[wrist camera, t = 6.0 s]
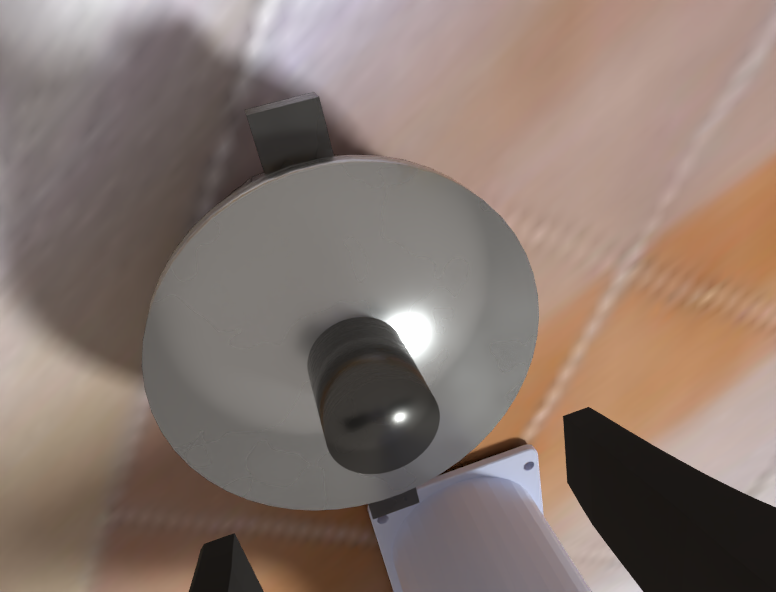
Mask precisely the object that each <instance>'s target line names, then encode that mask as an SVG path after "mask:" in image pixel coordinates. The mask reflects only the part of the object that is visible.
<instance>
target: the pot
mask: <svg viewBox="0 0 776 592" xmlns="http://www.w3.org/2000/svg"><path fill="white" fill-rule="evenodd" d="M245 112H246V116H247V119H248V122H249V125H250V129H251V132H252V135H253V138H254V141H255V145H256V148H257V151H258V154H259V157H260V160H261V164H262V167H263V170H264V173H262V174H260V175H257V176H254V177H252V179H249V180H248V181H247V182H246V183H245V184H243V185H242V186H240V187H239V188H237V189H236V190H234V191H233V192H232V193H234V192H235V191H237V190H238V189H240V188H242V187H244V186H246V185H247V184H249V183H251V182H253V181H255V180H256V179H258V178H260V177H262V176H264V175H267V174H269V173H272V172H274V171H277V170H280V169H282V168H285V167H287V166H290V165H294V164H297V163H301V162H305V161H309V160H313V159H317V158H324V157H333V156H335V155H333V151H332V147H331V143H330V139H329V135H328V131H327V127H326V123H325V119H324V115H323V111H322V107H321V103H320V99H319V96H318V95H317V94H316V93H315V92H312V93H308V94H304V95H300V96H297V97H293V98H289V99H285V100H281V101H277V102H273V103H269V104H265V105H262V106H258V107H254V108H250V109H246V110H245ZM337 156H341V155H337ZM232 193H231V194H232ZM231 194H230V195H231ZM230 195H229V196H230ZM417 503H420V502H419V498H418V494H417V489H416V487H415V488H413V489H411V490H408V491H406V492H404V493H402V494H399V495H396V496H393V497H390V498H387V499H384V500H381V501H378V502H374V503H370V504H368V505H369V508H370V512H371V515H372V518H373V519H376V518H379V517H381V516H384V515H387V514H390V513H392V512H395V511H398V510H401V509H403V508H406V507H409V506H412V505H414V504H417Z"/></svg>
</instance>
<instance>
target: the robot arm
mask: <svg viewBox="0 0 776 592" xmlns="http://www.w3.org/2000/svg"><path fill="white" fill-rule="evenodd" d="M563 421H564V437H565V453H566V469H567V483H568V484H569V486H570V488H571V489H572V491H573V493H574V495H575V496H576V498H577V500H578V502H579V503H580V505H581V507H582V508H583V510H584V512H585V513H586V515H587V516H588V518H589V520H590V521H591V523H592V525H593V526H594V527H595V529H596V530H597V531H598V533H599V534H600V535H601V537H602V538H603V539H604V541H605V542H606V543H607V545H608V546H609V547H610V549H611V550H612V551H613V553H614V554H615V555H616V557H617V558H618V559H619V560H620V562H621V563H622V564H623V566H624V567H625V568H626V570H627V571H628V572H629V573H630V575H631V576H632V577H633V579H634V580H635V581H636V583H637V584H638V585H639V587H640V588H641V589H642V590H643V592H776V507H773V506H771V505H769V504H766V503H764V502H762V501H759V500H757V499H755V498H753V497H751V496H748V495H746V494H744V493H742V492H740V491H738V490H736V489H734V488H732V487H730V486H728V485H726V484H724V483H722V482H720V481H718V480H716V479H714V478H712V477H710V476H708V475H706V474H704V473H702V472H700V471H698V470H697V469H695V468H693V467H691V466H689V465H687V464H686V463H684V462H682V461H680V460H678V459H677V458H675V457H673V456H671V455H669V454H668V453H666V452H664V451H662V450H660V449H659V448H657V447H655V446H654V445H652V444H650V443H648V442H647V441H645V440H643V439H642V438H640V437H638V436H637V435H635V434H633V433H631V432H630V431H628V430H626V429H625V428H623V427H621V426H620V425H618V424H617V423H615V422H613V421H612V420H610V419H608V418H607V417H605V416H603V415H602V414H600V413H598V412H597V411H595V410H593V409H591V408H590V407H587V408H585V409H582V410H579V411H576V412H573V413H571V414H568V415H565V416H563ZM527 462H528V463H527ZM526 463H527V464H526ZM416 489H417V494H418V498H419V502H420V503H417V504H414V505H412V506H409V507H406V508H403V509H401V510H398V511H395V512H392V513H390V514H387V515H384V516H382V517H379V518H376V519H373V518H372V515H371V512H370V508H369V505H368V512H369V516H370V519H371V522H372V525H373V528H374V531H375V535H376V538H377V541H378V544H379V547H380V550H381V554H382V557H383V560H384V563H385V566H386V569H387V573H388V576H389V579H390V582H391V585H392V588H393V592H592V591H591V589H590V588H589V586H588V585H587V583H586V581H585V580H584V578H583V577H582V575H581V574H580V572H579V571H578V569H577V567H576V566H575V564H574V563H573V561H572V560H571V558H570V556H569V555H568V553H567V552H566V550H565V549H564V547H563V546H562V544H561V542H560V541H559V539H558V538H557V536H556V535H555V533H554V531H553V530H552V528H551V527H550V525H549V524H548V522H547V521H546V519H545V517H544V515H543V504H542V494H541V483H540V473H539V462H538V453H537V451H536V449H535V448H534V447H533V446H532V445H529V444H526V445H522V446H519V447H517V448H514V449H511V450H508V451H506V452H503V453H500V454H497V455H494V456H492V457H489V458H486V459H483V460H481V461H478V462H475V463H472V464H469V465H467V466H464V467H461V468H458V469H456V470H453V471H450V472H447V473H444V474H442V475H439V476H436V477H434V478H432V479H431V480H429V481H427V482H425V483H424V484H422V485H419V486H417V487H416ZM189 592H264V591H263V589H262V587H261V585H260V583H259V581H258V579H257V577H256V575H255V573H254V571H253V569H252V567H251V565H250V563H249V561H248V559H247V557H246V555H245V553H244V551H243V549H242V547H241V545H240V543H239V541H238V539H237V537H236V535H235V533H234V534H231V535H228V536H226V537H223V538H220V539H217V540H214V541H212V542H209V543H206V544H204V546H203V547H202V549H201V551H200V554H199V558H198V562H197V566H196V569H195V573H194V576H193V579H192V583H191V586H190V590H189Z"/></svg>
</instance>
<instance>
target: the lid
mask: <svg viewBox="0 0 776 592" xmlns="http://www.w3.org/2000/svg"><path fill="white" fill-rule="evenodd" d="M538 321H539V308H538V294H537V289H536V284H535V279H534V274H533V271H532V269H531V266H530V263H529V261H528V258H527V255H526V253H525V251H524V249H523V248H522V246H521V244H520V242H519V240H518V239H517V237H516V235H515V234H514V232H513V231H512V230H511V229H510V227H509V226H508V225H507V223H506V222H505V221H504V220H503V218H502V217H501V216H500V215H499V214H498V213H497V212H496V211H495V210H493V209H492V208H491V207H490V206H489V205H488V204H487V203H486V202H485V201H484V200H482V199H481V198H480V197H478V196H477V195H476V194H474V193H473V192H472V191H470V190H469V189H467V188H466V187H464V186H463V185H461V184H460V183H458V182H457V181H455V180H454V179H452V178H451V177H448V176H446V175H444V174H442V173H440V172H438V171H436V170H434V169H431V168H429V167H426V166H423V165H420V164H417V163H413V162H410V161H407V160H403V159H397V158H390V157H384V156H378V155H341V156H333V157H324V158H317V159H313V160H309V161H305V162H301V163H297V164H294V165H290V166H287V167H285V168H282V169H280V170H277V171H274V172H272V173H269V174H267V175H264V176H262V177H260V178H258V179H256V180H255V181H253V182H251V183H249V184H247V185H246V186H244V187H242V188H240V189H238V190H237V191H235V192H234V193H232V194H231V195H230V196H228V197H227V198H226V199H224V200H223V201H222V202H220V203H219V204H218V205H216V206H215V207H214V208H212V209H211V210H210V211H209V212H208V213H207V214H206V215H205V216H204V217H203V218H202V219H201V220H200V221H199V222H198V223H197V224H196V225H195V226H194V227H193V228H192V229H191V230H190V231H189V232H188V234H187V235H186V236H185V238H184V239H183V240H182V242H181V243H180V244H179V245H178V247H177V248H176V249H175V251H174V252H173V254H172V256H171V257H170V259H169V261H168V263H167V265H166V266H165V268H164V270H163V272H162V273H161V275H160V278H159V280H158V283H157V286H156V288H155V291H154V294H153V296H152V299H151V303H150V308H149V313H148V318H147V322H146V327H145V332H144V337H143V350H142V371H143V378H144V386H145V392H146V395H147V398H148V401H149V405H150V408H151V411H152V414H153V416H154V418H155V420H156V422H157V424H158V426H159V428H160V430H161V432H162V433H163V435H164V436H165V438H166V439H167V440H168V442H169V443H170V445H171V446H172V448H173V449H174V450H175V451H176V452H177V454H178V455H179V456H180V457H181V458H182V459H183V460H184V461H185V462H186V463H187V464H188V465H189V466H190V467H191V468H193V469H194V470H195V471H197V472H198V473H199V474H200V475H202V476H203V477H204V478H206V479H207V480H208V481H210V482H212V483H214V484H215V485H217V486H219V487H221V488H222V489H224V490H226V491H228V492H230V493H233V494H235V495H238V496H240V497H242V498H245V499H247V500H251V501H254V502H258V503H261V504H265V505H269V506H274V507H280V508H287V509H295V510H334V509H343V508H349V507H356V506H361V505H365V504H370V503H374V502H378V501H381V500H384V499H387V498H390V497H393V496H396V495H399V494H402V493H404V492H406V491H408V490H411V489H413V488H415V487H417V486H419V485H422V484H424V483H425V482H427V481H429V480H431V479H432V478H434V477H436V476H438V475H439V474H441V473H443V472H444V471H446V470H447V469H448V468H450V467H451V466H453V465H454V464H456V463H457V462H458V461H460V460H461V459H462V458H463V457H465V456H466V455H467V454H468V453H469V452H470V451H472V450H473V449H474V448H475V447H476V446H477V445H478V444H479V443H480V442H481V441H482V440H483V439H484V438H485V437H486V436H487V435H488V434H489V433H490V432H491V431H492V430H493V428H494V427H495V426H496V425H497V423H498V422H499V421H500V420H501V418H502V417H503V416H504V415H505V413H506V412H507V410H508V408H509V407H510V405H511V404H512V402H513V401H514V399H515V397H516V396H517V394H518V392H519V390H520V388H521V386H522V384H523V382H524V379H525V377H526V375H527V372H528V369H529V366H530V363H531V361H532V358H533V354H534V349H535V344H536V340H537V333H538Z"/></svg>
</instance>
